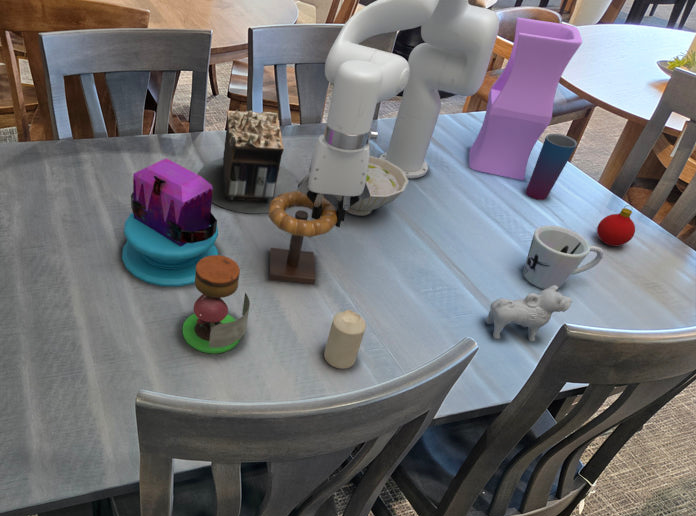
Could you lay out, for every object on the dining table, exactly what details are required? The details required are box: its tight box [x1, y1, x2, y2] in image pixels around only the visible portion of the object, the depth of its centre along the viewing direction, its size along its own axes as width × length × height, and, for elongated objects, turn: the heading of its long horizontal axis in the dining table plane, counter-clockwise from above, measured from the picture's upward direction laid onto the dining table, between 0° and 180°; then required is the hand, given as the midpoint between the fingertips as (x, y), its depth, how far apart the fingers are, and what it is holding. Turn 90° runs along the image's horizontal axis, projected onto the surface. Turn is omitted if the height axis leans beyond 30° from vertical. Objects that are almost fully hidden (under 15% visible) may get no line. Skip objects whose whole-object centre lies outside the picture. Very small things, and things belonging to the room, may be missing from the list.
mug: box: [522, 225, 604, 290], centre depth 128 cm, size 10×15×10 cm
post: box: [269, 209, 317, 285], centre depth 125 cm, size 9×9×14 cm
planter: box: [196, 109, 299, 214], centre depth 148 cm, size 25×25×19 cm
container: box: [468, 17, 583, 181], centre depth 158 cm, size 14×14×35 cm
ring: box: [268, 190, 337, 238], centre depth 121 cm, size 13×13×3 cm
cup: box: [525, 133, 578, 201], centre depth 153 cm, size 7×7×15 cm
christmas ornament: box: [596, 204, 636, 247], centre depth 140 cm, size 7×7×10 cm
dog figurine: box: [485, 285, 573, 342], centre depth 115 cm, size 5×13×11 cm, turn 89°
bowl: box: [334, 155, 410, 216], centre depth 146 cm, size 19×19×10 cm
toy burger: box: [182, 254, 251, 354], centre depth 109 cm, size 12×13×15 cm
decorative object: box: [121, 157, 219, 287], centre depth 124 cm, size 20×20×20 cm
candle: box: [323, 309, 367, 370], centre depth 108 cm, size 6×6×10 cm
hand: (326, 221), depth 121 cm, fingers closed on ring, 3 cm apart
